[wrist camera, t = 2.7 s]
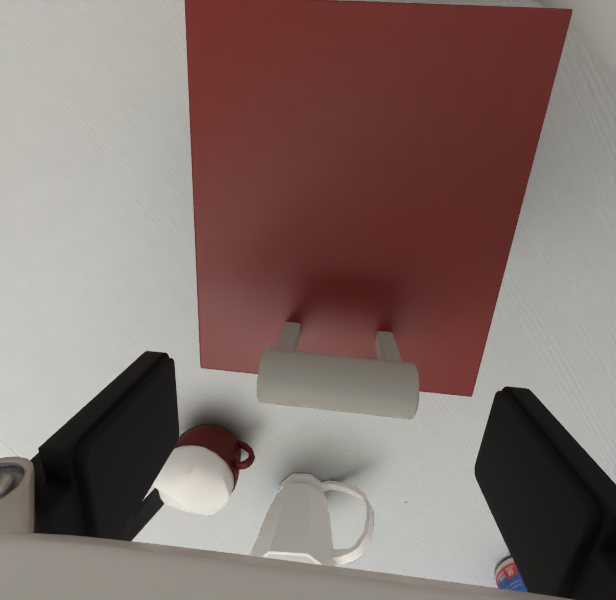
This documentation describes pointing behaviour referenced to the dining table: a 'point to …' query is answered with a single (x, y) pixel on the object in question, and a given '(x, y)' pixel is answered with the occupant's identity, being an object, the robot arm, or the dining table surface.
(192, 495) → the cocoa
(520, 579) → the pill bottle
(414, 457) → the dining table surface
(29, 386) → the dining table surface
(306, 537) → the cup
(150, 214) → the dining table surface
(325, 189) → the bin lid
